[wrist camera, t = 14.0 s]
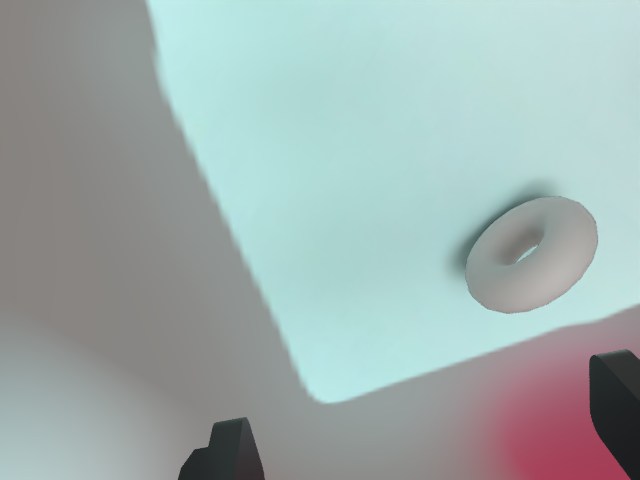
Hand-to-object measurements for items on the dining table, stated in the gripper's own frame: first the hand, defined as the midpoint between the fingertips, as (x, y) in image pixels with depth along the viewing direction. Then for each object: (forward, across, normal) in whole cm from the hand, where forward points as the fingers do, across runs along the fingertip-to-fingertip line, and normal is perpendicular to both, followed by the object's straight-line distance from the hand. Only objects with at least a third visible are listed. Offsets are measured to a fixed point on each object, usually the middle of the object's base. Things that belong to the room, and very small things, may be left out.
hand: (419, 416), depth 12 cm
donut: (+30, -12, +9) cm, 34 cm away
